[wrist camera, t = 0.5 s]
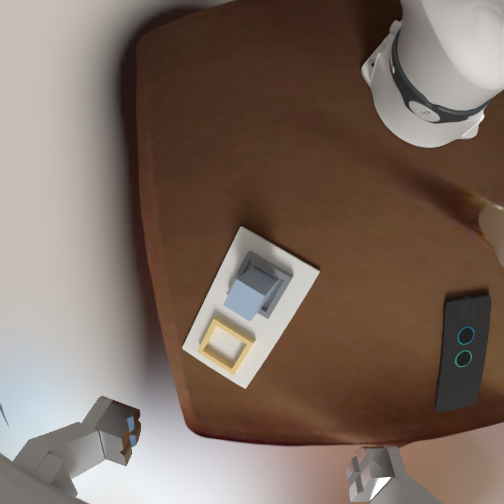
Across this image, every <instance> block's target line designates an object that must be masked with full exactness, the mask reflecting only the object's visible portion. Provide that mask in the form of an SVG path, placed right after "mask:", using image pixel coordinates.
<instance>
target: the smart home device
mask: <svg viewBox="0 0 504 504" xmlns="http://www.w3.org/2000/svg"><path fill="white" fill-rule="evenodd" d="M490 311H491V297H490V296H489V295H488V294H487V293H486V294H480V295H474V296H467V297H461V298H454V299H448V300H445V302H444V307H443V331H442V346H441V358H440V368H439V377H438V382H437V388H436V399H435V409H436V412H441V411H447V410H452V409H457V408H462V407H467V406H471V405H474V404H475V403H476V401H477V398H478V393H479V389H480V384H481V379H482V373H483V368H484V362H485V355H486V348H487V341H488V332H489V322H490Z"/></svg>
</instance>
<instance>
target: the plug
mask: <svg viewBox="0 0 504 504" xmlns="http://www.w3.org/2000/svg"><path fill="white" fill-rule="evenodd" d="M278 280H279V279H277V278H275V277H274V276H272V275H270V274H268V273H267V272H265V271H263V270H262V269H260V268H258V267H257V266H254V267H252V268H251V269H249V270H248V271H247V272H245V273H244V274H243V275H241V276H240V277H237V278H235V279H234V280H233V282H232V284H231V286H230V288H229V289H228V291H227V293H228V296H227V298H226V300H225V302H224V304H223V305H224V306H225V307H227V308H229V309H230V310H232V311H233V312H235V313H237V314H238V315H240V316H242V317H243V318H245V319H246V320H248V321H251V320H252V319H253V317H254V316H255V315H256V314H257V313H258V311H259V310H260V309H261V308H262V306H263V305H264V304H265V303H266V301H267V299H268V298H269V296H270V294H271V292H272V291H273V289H274V287H275V285H276V284H277V282H278Z"/></svg>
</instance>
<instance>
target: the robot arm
mask: <svg viewBox="0 0 504 504" xmlns="http://www.w3.org/2000/svg"><path fill="white" fill-rule="evenodd" d="M400 2H401V5H402V8H403V18H402V20H401V21H400V22H399V21H398V20H395V21H394V22H393V24H392V25H391V27H390V29H389V32H390V34H389V35H388V36H387V37H386V38H385V39H384V40H383V42H382V43H381V44H380V45H379V47H378V48H377V49H376V50H375V51H374V52H373V54H372V55H371V56H370V57H369V58H368V60H367V61H366V62H365V63H364V64H363V66H362V68H361V73H362V76H363V77H364V79H365V81H366V82H367V83H368V85H369V86H370V88H371V91H372V95H373V101H374V104H375V108H376V110H377V112H378V114H379V116H380V118H381V119H382V121H383V122H384V124H385V125H386V126H387V127H388V128H389V129H390V130H391V131H392V132H393V133H394V134H395V135H396V136H398V137H399V138H401V139H402V140H404V141H406V142H408V143H410V144H413V145H416V146H420V147H439V146H442V145H445V144H447V143H449V142H451V141H453V140H455V139H470V138H473V137H474V136H475V135H476V134H477V132H478V126H479V123H480V122H481V121H482V120H483V118H484V114H483V111H484V109H485V107H486V106H487V105H488V104H489V103H490V101H491V100H492V98H493V97H494V96H495V95H497V94H498V93H499V92H501V91H502V90H504V0H400ZM372 64H374V67H372ZM139 417H140V410H139V409H136V408H133V407H131V406H128V405H125V404H122V403H120V402H117V401H115V400H112V399H109V398H107V397H104V396H101V397H99V398H98V400H97V401H96V403H95V404H94V406H93V407H92V408H91V410H90V411H89V413H88V414H87V416H86V417H85V419H84V420H83V422H82V423H79V422H77V423H74V424H71V425H69V426H66V427H63V428H61V429H58V430H55V431H53V432H50V433H47V434H44V435H41V436H38V437H36V438H33V439H30V440H28V442H27V443H26V444H25V446H24V447H23V448H22V450H21V451H20V452H19V454H18V455H17V456H16V458H15V459H14V460H13V461H11V460H10V459H8V458H7V457H5V456H4V455H2V454H1V453H0V504H89V503H87V502H85V501H82V500H80V499H78V498H76V496H77V494H78V493H77V490H76V488H75V486H74V484H73V483H72V480H71V479H73V478H74V477H76V476H78V475H80V474H82V473H83V472H85V471H87V470H89V469H90V468H92V467H94V466H96V465H97V464H99V463H101V462H102V461H104V460H105V459H107V460H110V461H113V462H115V463H119V464H121V465H124V466H127V463H128V461H129V459H130V457H131V455H132V449H131V447H133V446H135V445H136V444H137V442H138V439H139V436H140V432H141V423H140V422H139V421H138V419H139ZM356 454H357V456H356V457H354V458H352V459H351V461H350V462H349V464H348V467H347V473H346V475H347V480H348V481H349V482H350V483H351V486H350V487H349V495H350V501H351V502H369V501H371V502H370V503H371V504H443V503H442V502H441V501H440V500H438V499H437V498H436V497H435V496H433V495H432V494H431V493H430V492H429V491H427V490H426V489H425V488H424V487H423V486H421V485H420V484H419V483H418V482H417V481H415V480H414V479H413V478H412V477H410V476H407V474H406V471H405V467H404V464H403V461H402V458H401V455H400V453H399V449H398V448H397V447H396V446H386V447H384V446H371V447H360V448H359V449H358V450H357V452H356Z"/></svg>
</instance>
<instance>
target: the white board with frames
mask: <svg viewBox="0 0 504 504" xmlns="http://www.w3.org/2000/svg"><path fill="white" fill-rule="evenodd" d="M254 266H257V267H258V268H260V269H262V270H263V271H265V272H267V273H268V274H270V275H272V276H274V277H275V278H277V279H279V280H278V282H277V284H276V285H275V287H274V289H273V291H272V292H271V294H270V296H269V298H268V299H267V301H266V303H265V304H264V305H263V306H262V308H261V309H260V310H259V311H258V313H257V314H256V315H255V316H254V317H253V319H252V320H251V321H248V320H246V319H245V318H243V317H242V316H240V315H238V314H237V313H235V312H233V311H232V310H230V309H229V308H227V307H225V306H224V305H223V304H224V302H225V300H226V298H227V296H228V293H227V291H228V289H229V288H230V286H231V284H232V282H233V280H234V279H235V278H237V277H240V276H241V275H243V274H244V273H245V272H247V271H248V270H249V269H251V268H252V267H254ZM319 272H320V271H319V270H318V269H316V268H314V267H313V266H311V265H309V264H307V263H306V262H304V261H302V260H300V259H299V258H297V257H295V256H293V255H292V254H290V253H288V252H287V251H285V250H283V249H281V248H280V247H278V246H276V245H274V244H273V243H271V242H269V241H267V240H266V239H264V238H262V237H260V236H259V235H257V234H255V233H253V232H252V231H250V230H248V229H246V228H245V227H243V226H240V228H239V230H238V233H237V235H236V237H235V239H234V241H233V243H232V245H231V247H230V249H229V251H228V253H227V255H226V257H225V259H224V261H223V263H222V265H221V267H220V269H219V272H218V274H217V276H216V278H215V280H214V282H213V284H212V286H211V288H210V290H209V292H208V294H207V296H206V299H205V301H204V303H203V305H202V307H201V309H200V311H199V313H198V315H197V318H196V320H195V322H194V324H193V326H192V328H191V330H190V332H189V335H188V337H187V339H186V341H185V343H184V345H183V347H182V349H183V350H185V351H186V352H188V353H189V354H191V355H192V356H194V357H195V358H197V359H198V360H200V361H201V362H203V363H204V364H206V365H208V366H209V367H211V368H212V369H214V370H215V371H217V372H218V373H220V374H222V375H223V376H225V377H226V378H228V379H230V380H231V381H233V382H235V383H236V384H238V385H240V386H241V387H243V388H245V389H246V387H247V386H248V384H249V383H250V382H251V380H252V379H253V377H254V376H255V374H256V373H257V371H258V370H259V368H260V367H261V365H262V364H263V362H264V361H265V359H266V358H267V356H268V355H269V353H270V351H271V350H272V348H273V347H274V345H275V344H276V342H277V341H278V339H279V338H280V336H281V334H282V333H283V331H284V330H285V328H286V327H287V325H288V323H289V322H290V320H291V319H292V317H293V315H294V314H295V312H296V311H297V309H298V307H299V306H300V304H301V302H302V301H303V299H304V297H305V296H306V294H307V293H308V291H309V289H310V288H311V286H312V284H313V283H314V281H315V279H316V277H317V276H318V274H319Z"/></svg>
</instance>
